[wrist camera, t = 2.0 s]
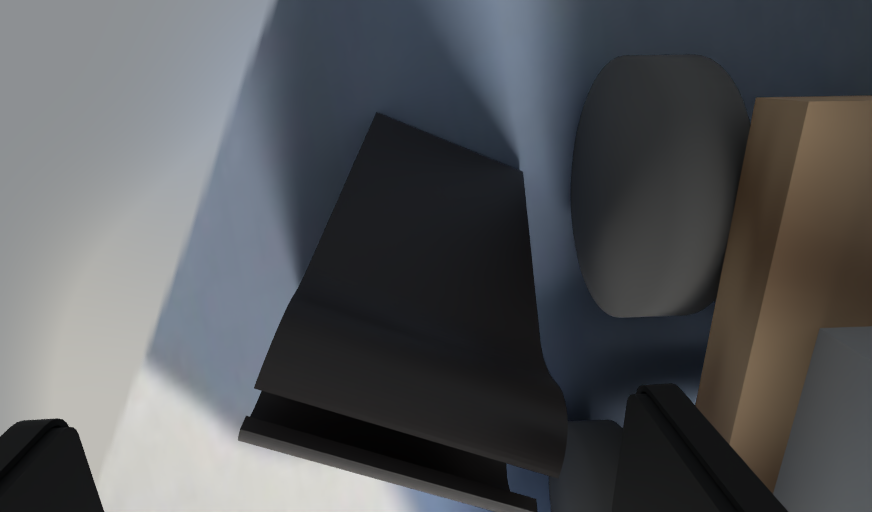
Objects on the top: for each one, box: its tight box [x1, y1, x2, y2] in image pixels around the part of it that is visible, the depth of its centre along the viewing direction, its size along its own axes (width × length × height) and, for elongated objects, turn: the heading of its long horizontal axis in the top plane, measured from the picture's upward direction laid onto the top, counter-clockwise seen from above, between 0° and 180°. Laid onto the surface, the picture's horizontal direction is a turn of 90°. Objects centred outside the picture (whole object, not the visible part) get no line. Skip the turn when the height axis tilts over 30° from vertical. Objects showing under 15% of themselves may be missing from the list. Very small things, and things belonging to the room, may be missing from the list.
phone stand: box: [238, 112, 568, 512], centre depth 15 cm, size 9×6×12 cm, turn 158°
